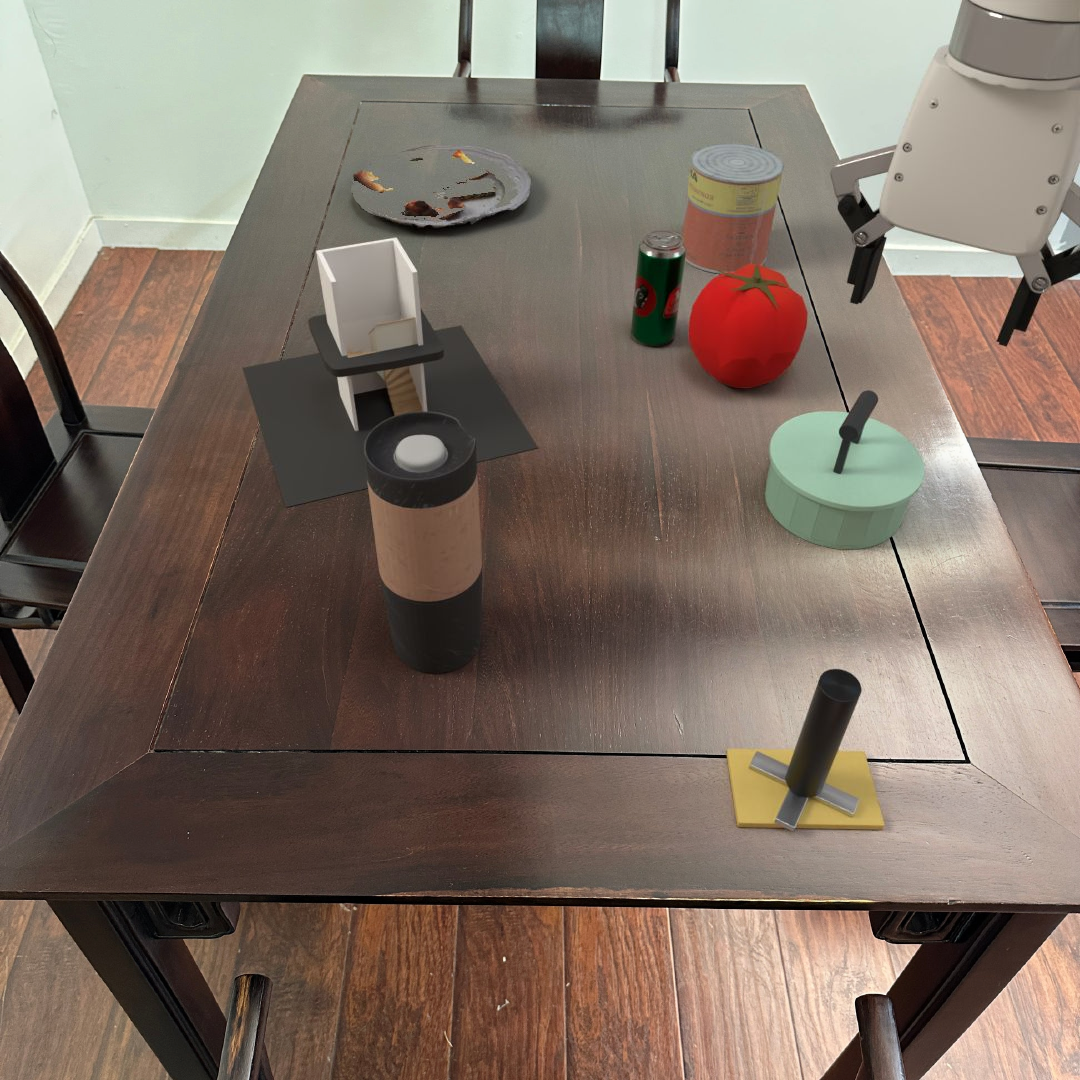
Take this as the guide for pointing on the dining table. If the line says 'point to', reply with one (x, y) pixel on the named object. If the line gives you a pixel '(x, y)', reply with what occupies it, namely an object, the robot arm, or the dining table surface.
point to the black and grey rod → (816, 750)
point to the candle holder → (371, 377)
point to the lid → (847, 458)
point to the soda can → (658, 287)
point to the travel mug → (427, 537)
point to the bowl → (829, 518)
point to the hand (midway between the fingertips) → (931, 315)
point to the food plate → (474, 203)
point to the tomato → (747, 326)
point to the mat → (765, 796)
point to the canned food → (730, 206)
